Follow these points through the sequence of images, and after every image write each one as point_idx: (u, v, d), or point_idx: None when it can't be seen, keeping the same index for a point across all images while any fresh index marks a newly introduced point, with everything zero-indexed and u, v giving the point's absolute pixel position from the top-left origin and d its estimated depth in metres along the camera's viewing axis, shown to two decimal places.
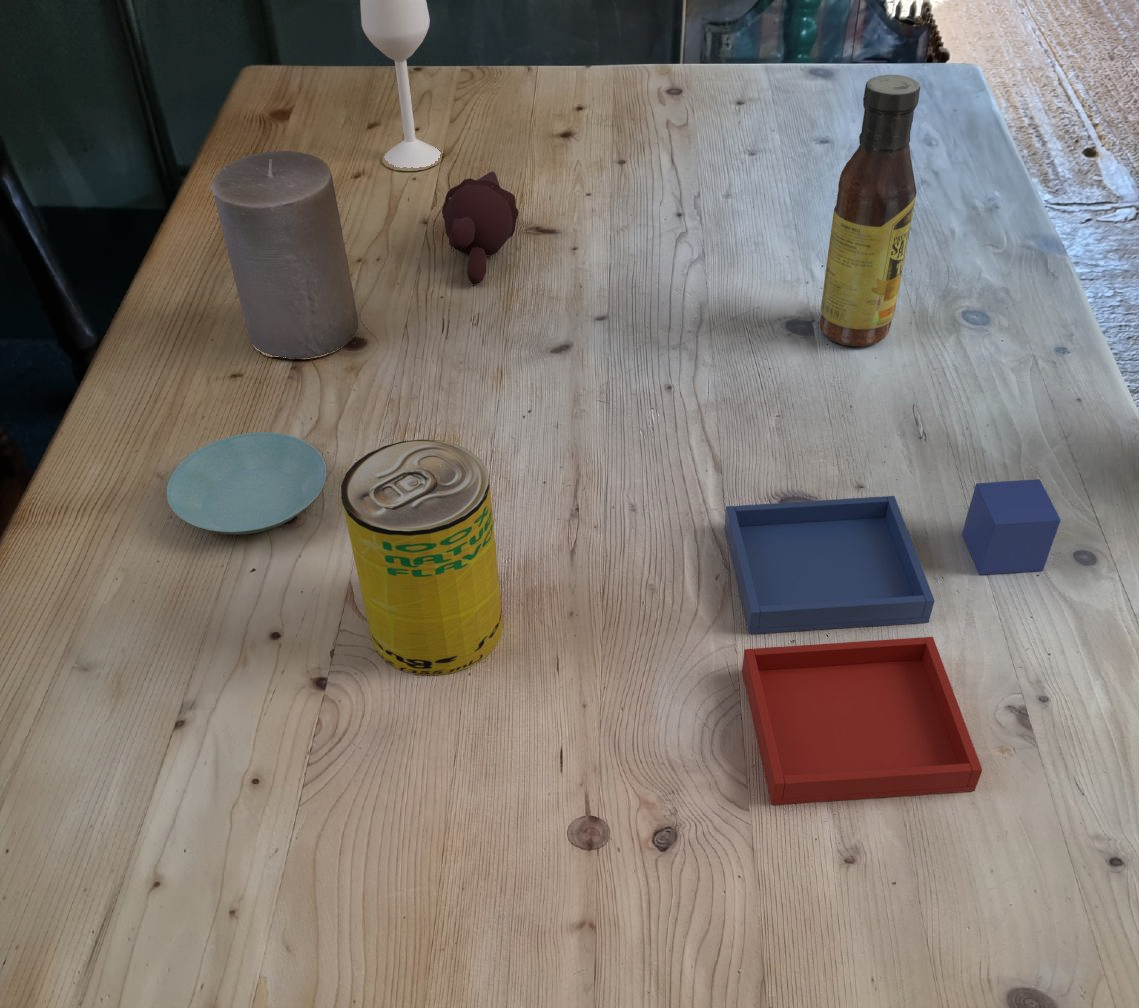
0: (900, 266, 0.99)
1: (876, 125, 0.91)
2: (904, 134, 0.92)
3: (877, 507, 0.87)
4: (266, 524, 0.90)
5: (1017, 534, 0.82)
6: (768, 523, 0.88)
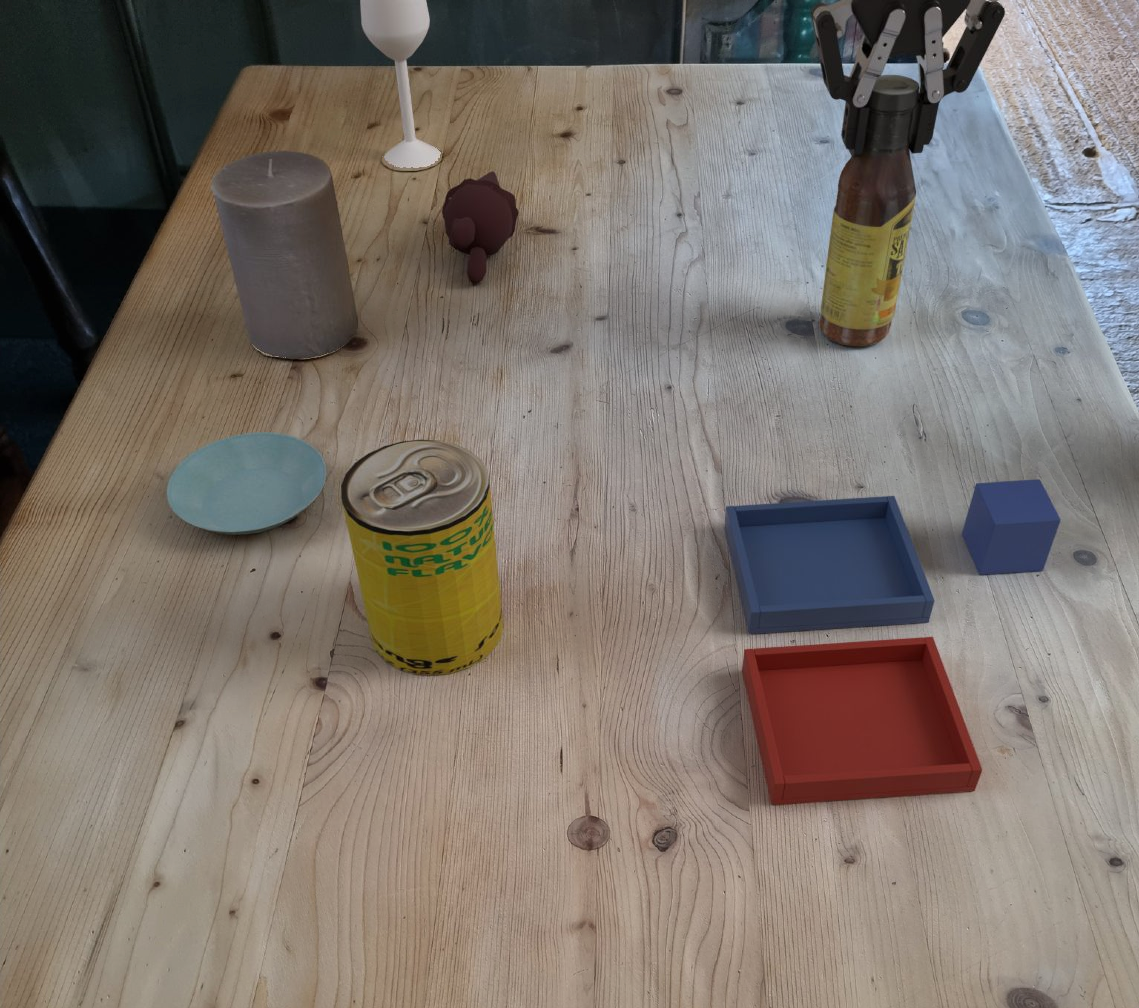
0: (900, 266, 0.99)
1: (875, 125, 0.91)
2: (904, 134, 0.92)
3: (877, 507, 0.87)
4: (266, 524, 0.90)
5: (1017, 534, 0.82)
6: (768, 523, 0.88)
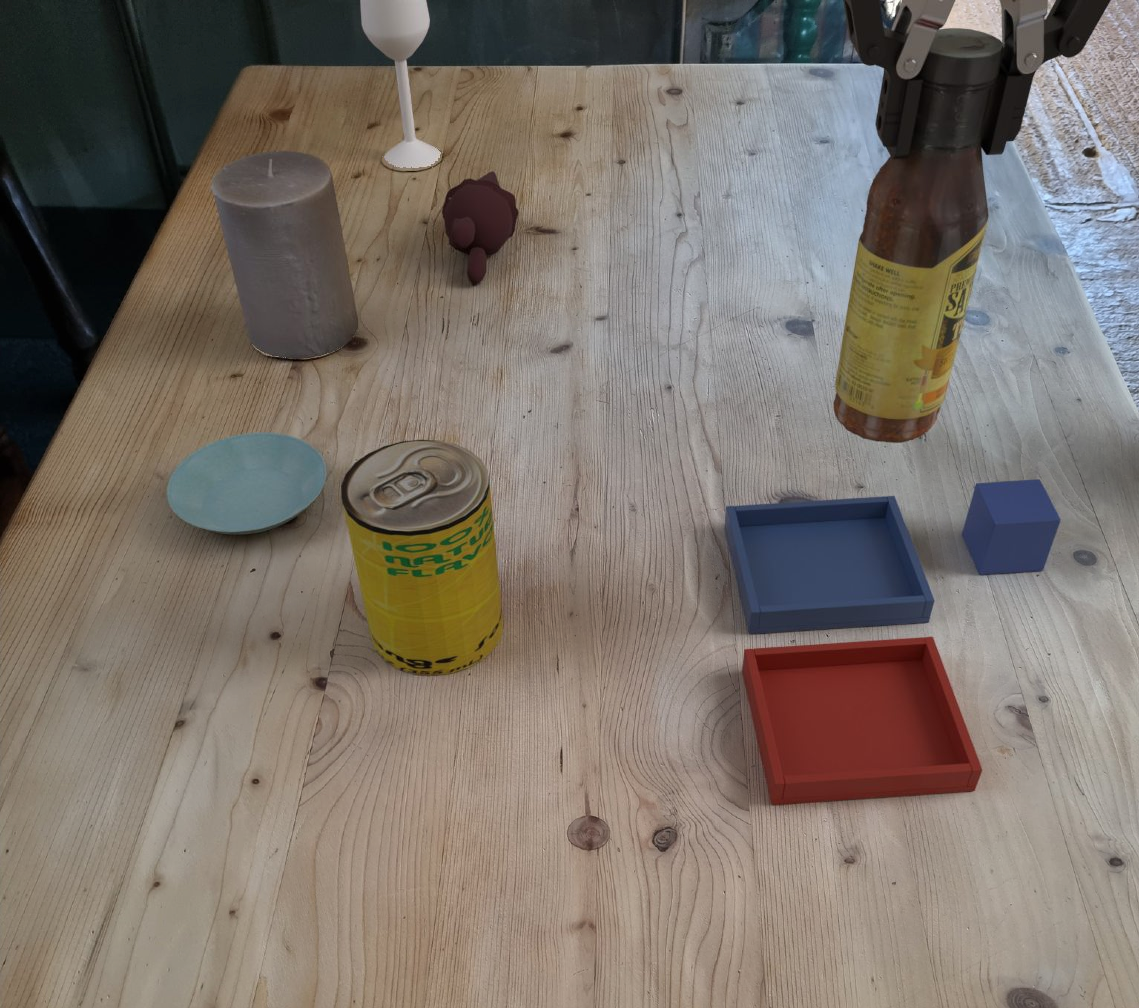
0: (958, 327, 0.65)
1: (930, 107, 0.57)
2: (975, 123, 0.58)
3: (877, 507, 0.87)
4: (266, 524, 0.90)
5: (1017, 534, 0.82)
6: (768, 523, 0.88)
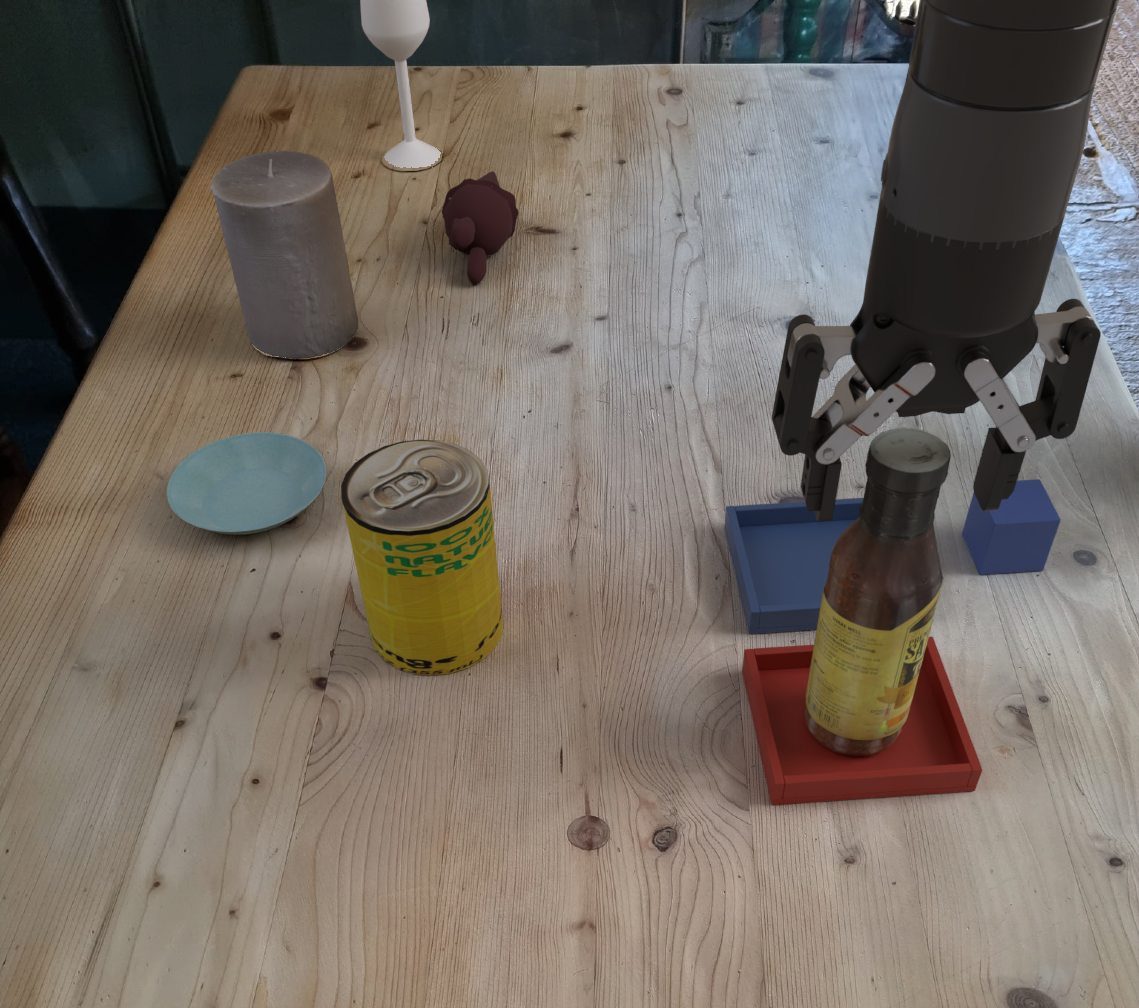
0: (918, 666, 0.69)
1: (884, 505, 0.61)
2: (927, 516, 0.62)
3: None
4: (266, 524, 0.90)
5: (1017, 534, 0.82)
6: (768, 523, 0.88)
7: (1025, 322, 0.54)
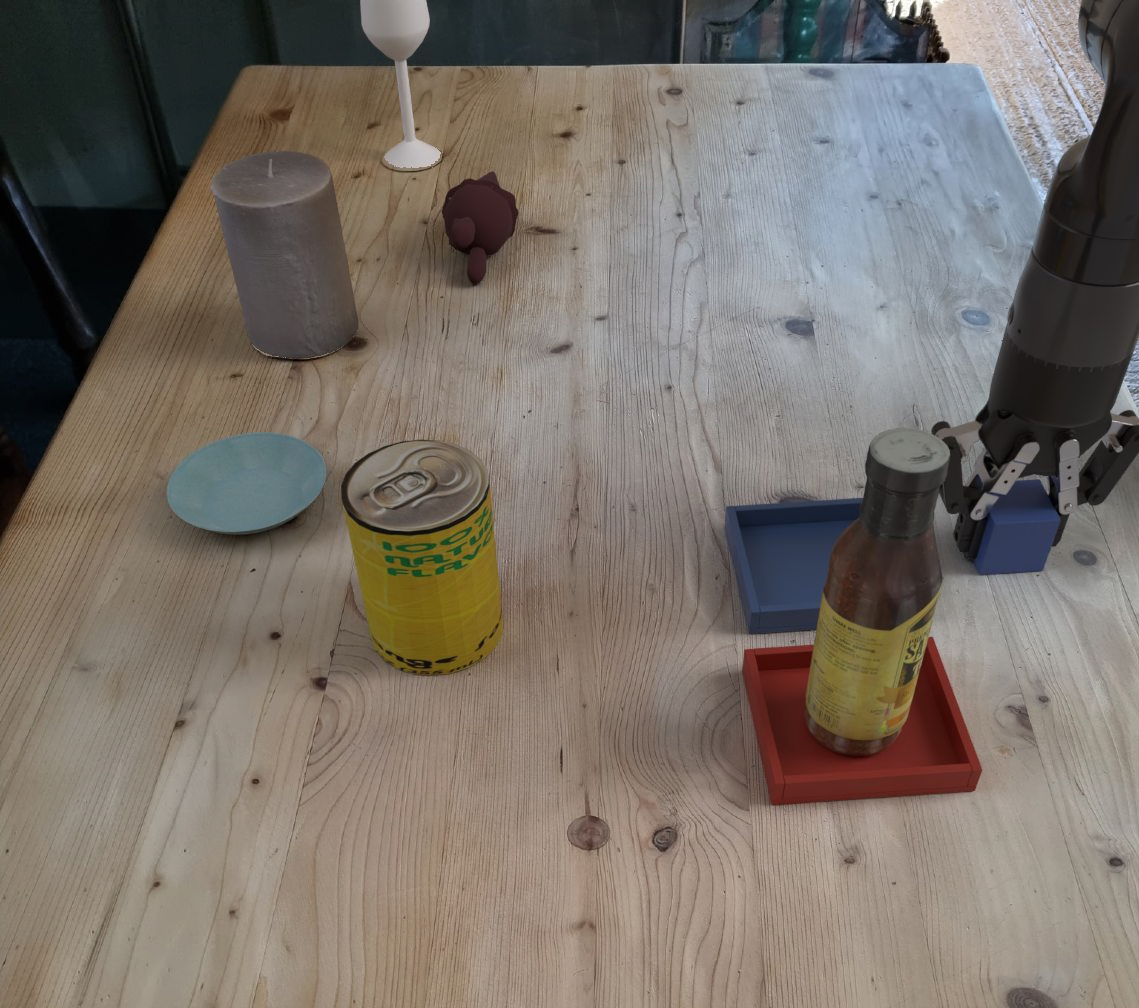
0: (918, 666, 0.69)
1: (884, 505, 0.61)
2: (926, 516, 0.62)
3: None
4: (266, 524, 0.90)
5: (1017, 534, 0.82)
6: (768, 523, 0.88)
7: None
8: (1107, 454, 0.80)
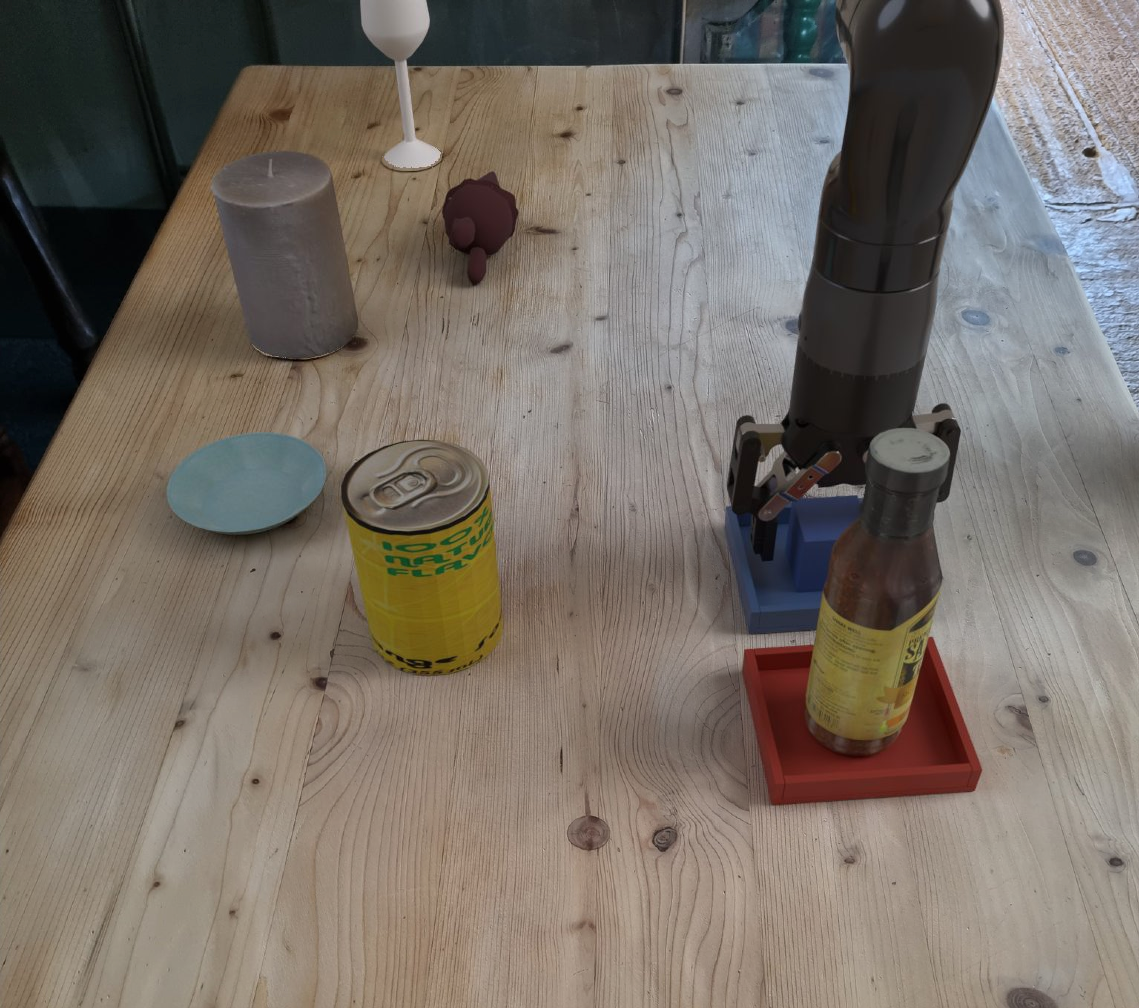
0: (918, 666, 0.69)
1: (884, 505, 0.61)
2: (926, 516, 0.62)
3: None
4: (266, 524, 0.90)
5: (829, 551, 0.81)
6: None
7: (905, 422, 0.75)
8: None
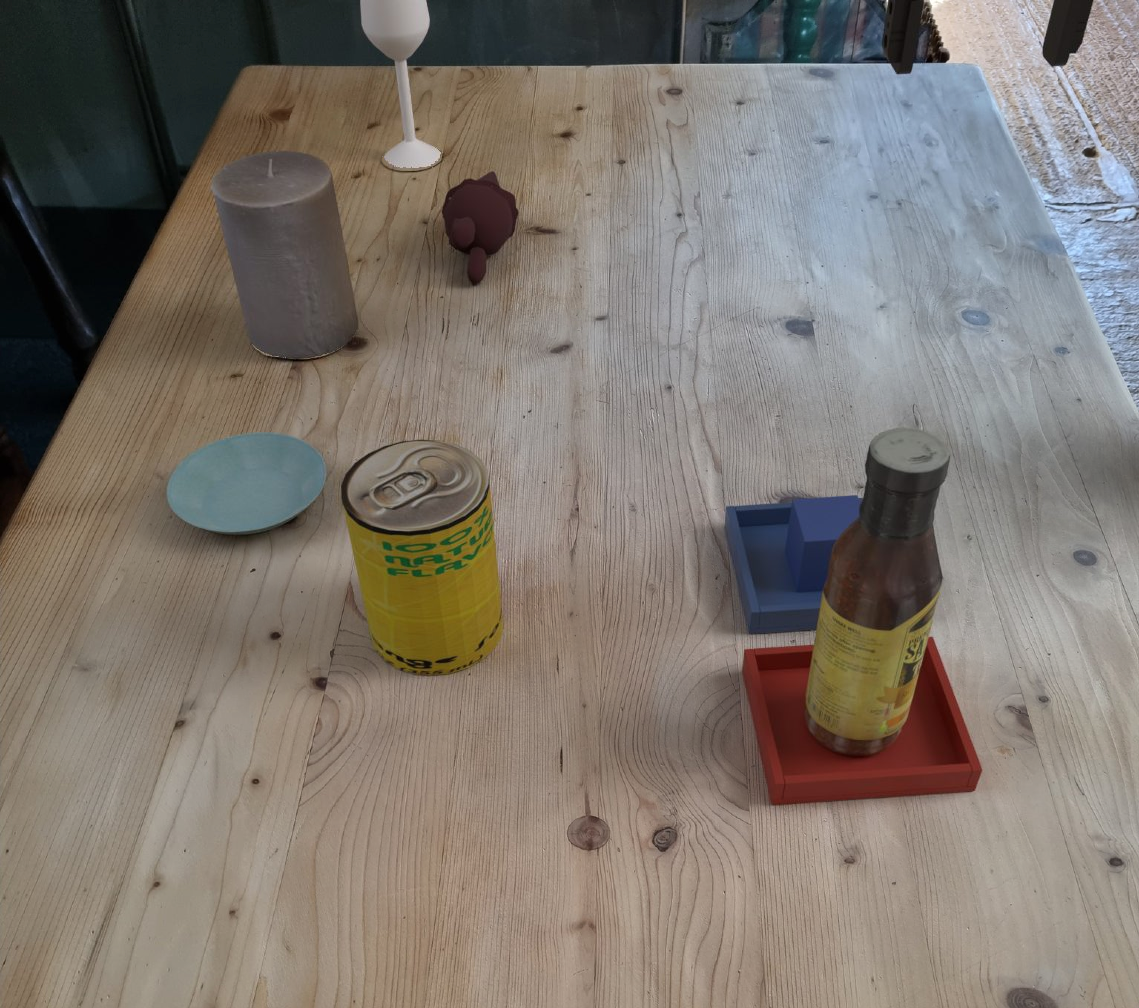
0: (918, 666, 0.69)
1: (884, 505, 0.61)
2: (926, 516, 0.62)
3: None
4: (266, 524, 0.90)
5: (829, 551, 0.81)
6: (768, 523, 0.88)
7: None
8: None
